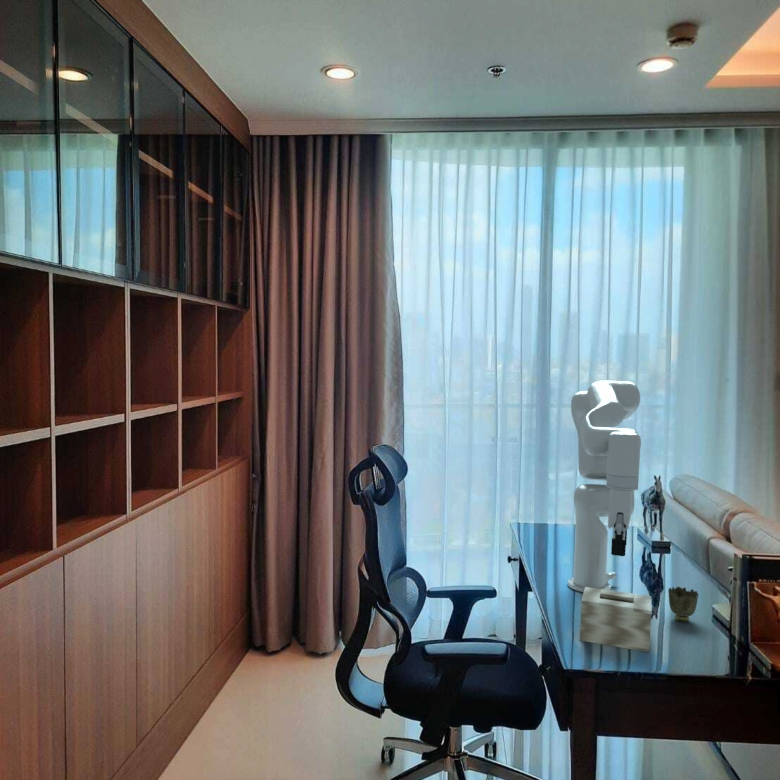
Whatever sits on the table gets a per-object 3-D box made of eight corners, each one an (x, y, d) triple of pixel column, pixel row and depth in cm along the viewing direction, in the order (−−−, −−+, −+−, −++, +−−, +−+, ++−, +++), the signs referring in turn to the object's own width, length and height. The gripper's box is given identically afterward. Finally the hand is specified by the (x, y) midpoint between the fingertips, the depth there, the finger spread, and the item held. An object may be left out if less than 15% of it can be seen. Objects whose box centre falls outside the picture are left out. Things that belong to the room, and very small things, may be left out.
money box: (649, 635, 171) (651, 596, 170) (649, 652, 160) (651, 610, 160) (583, 624, 176) (585, 586, 176) (579, 640, 166) (581, 600, 166)
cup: (662, 619, 182) (663, 590, 181) (673, 612, 187) (675, 584, 187) (690, 628, 176) (691, 597, 176) (701, 621, 182) (702, 591, 181)
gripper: (608, 474, 176) (605, 539, 177) (604, 486, 160) (600, 557, 161) (638, 477, 174) (635, 543, 174) (638, 489, 157) (634, 561, 158)
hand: (618, 550), depth 168 cm, fingers open, 9 cm apart
